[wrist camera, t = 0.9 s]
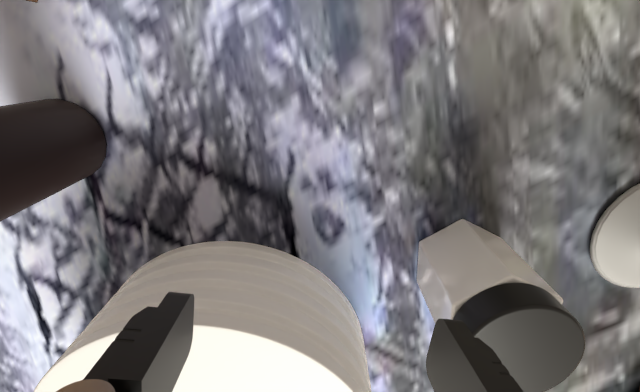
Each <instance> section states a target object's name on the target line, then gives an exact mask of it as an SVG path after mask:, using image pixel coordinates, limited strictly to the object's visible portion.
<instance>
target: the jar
mask: <svg viewBox="0 0 640 392" xmlns="http://www.w3.org/2000/svg"><path fill="white" fill-rule="evenodd" d="M417 283H418V285H419V288H420V290H421V292H422V294H423V297H424V299H425V301H426V304H427V306H428V308H429V310H430V313H431V315H432V317H433V320H434V322H435V324H436V321H437V320H438V319H451V320H461V321H463V322H464V323H465V324H466V326H467V327H468V329H469V330H470V331H471V333H472V334H473V336H474V337H475V338H479V339H481V340H482V341H483V342H484V343H485V344H487V345H488V346H489V347H490V348H492V349H493V351H494V352H495V353H496V355H497V356H498V357H499V359H500V360H501V362H502V365H504V366H505V367H506V368H507V370H508V371H509V372H510V376H512V377H513V378H514V379H515V381H516V382H517V383H518V385H519V386H520V387H521V389H522V390H523V391H524V392H545V391H547V390H549V389H551V388H553V387H555V386H556V385H558V384H559V383H561V382H562V381H563V380H565V379H566V378H567V377H568V376H569V375H570V374H571V373H572V372H573V371H574V370H575V369H576V367H577V366H578V364H579V363H580V361H581V359H582V356H583V353H584V349H585V336H584V332H583V329H582V327H581V325H580V324H579V322H578V321H577V320H576V319H575V318H574V317H573V316H572V315H571V314H570V313H569V311H568V310H567V309H566V308H565V307H564V306H563V305H562V304H563V299H562V298H561V297H560V296H559V295H558V294H557V293H556V292H555V291H554V290H553V289H552V288H551V287H550V286H549V285H548V284H547V283H546V282H545V281H544V280H543V279H542V278H541V277H540V276H539V275H538V274H537V273H536V272H535V271H534V270H533V269H532V268H531V267H530V266H529V265H528V264H527V263H526V262H525V261H524V260H523V259H522V258H521V257H520V256H519V255H518V254H517V253H516V252H515V251H514V250H513V249H512V248H511V247H510V246H509V245H508V244H507V243H506V242H505V241H504V240H503V239H502V238H500V237H498V236H496V235H494V234H492V233H490V232H488V231H486V230H484V229H482V228H480V227H479V226H477V225H475V224H473V223H471V222H469V221H467V220H465V219H460V220H459V221H457V222H455V223H453V224H451V225H449V226H447V227H446V228H444V229H442V230H440V231H438V232H436V233H434V234H432V235H431V236H429V237H427V238H425V239H423V240H421V241H420V242H419V250H418V266H417Z"/></svg>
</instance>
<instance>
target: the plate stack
mask: <svg viewBox="0 0 640 392" xmlns="http://www.w3.org/2000/svg"><path fill="white" fill-rule="evenodd" d="M168 292H177V293H187V294H193V295H194V320H193V338H192V344H191V349H190V352H189V355H188V358H187V360H186V362H185V364H184V367H183V369H182V371H181V373H180V375H179V378H178V380H177V382H176V384H175V387H174V389H173V391H172V392H371V385H370V378H369V373H368V366H367V359H366V353H365V347H364V340H363V334H362V329H361V326H360V323H359V320H358V317H357V315H356V313H355V311H354V309H353V307H352V305H351V304H350V302H349V301H348V299H347V298H346V296H345V295H344V294H343V292H342V291H341V290H340V289H339V288H338V287H337V286H336V285H335V284H334V283H333V282H332V281H331V280H330V279H329V278H328V277H327V276H325V275H324V274H323V273H322V272H320V271H319V270H318V269H316V268H315V267H313V266H311V265H310V264H308V263H307V262H305V261H303V260H301V259H299V258H297V257H295V256H293V255H291V254H288V253H286V252H283V251H280V250H277V249H274V248H271V247H267V246H263V245H259V244H253V243H247V242H237V241H212V242H202V243H196V244H191V245H187V246H183V247H179V248H176V249H173V250H171V251H168V252H166V253H164V254H161V255H159V256H157V257H155V258H154V259H152V260H150V261H149V262H147V263H146V264H144V265H143V266H142V267H140V268H139V269H138V270H137V271H135V272H134V273H133V274H132V275H131V276H130V277H129V278H128V279H127V280H126V282H125V283H124V284H123V285H122V286H121V288H120V289H119V290H118V291H117V292H116V293H115V294H114V296H113V297H112V298H111V299H110V300H109V301H108V302H107V304H106V305H105V306H104V307H103V309H102V310H101V311H100V312H99V313H98V314H97V315H96V316H95V317H94V319H93V320H92V321H91V322H90V323H89V325H88V326H87V327H86V328H85V330H84V331H83V332H82V333H81V334H80V335H79V336H78V337H77V338H76V339H75V341H74V342H73V343H72V344H71V345H70V346H69V348H68V349H67V350H66V351H65V353H64V354H63V355H62V356H61V357H60V358H59V359H58V360H57V361H56V362H55V364H54V365H53V366H52V367H51V368H50V369H49V371H48V372H47V373H46V374H45V375H44V377H43V378H42V379H41V380H40V382H39V383H38V385H37V387H36V388H35V390H34V392H56V391H58V390H59V389H61V388H63V387H65V386H67V385H69V384H71V383H74V382H77V381H81V380H83V379H84V378H85V377H86V375H87V374H88V373H89V371H90V370H91V369H92V368H93V366H94V365H95V364H96V362H97V361H98V360H99V359H100V357H101V356H102V355H103V353H104V352H105V351H106V350H107V348H108V347H109V346H110V344H111V343H112V342H113V341H115V338H116V337H117V335H118V334H119V333H120V332H121V331H123V328H124V327H125V325H126V324H127V323H128V321H129V320H130V319H131V318H132V316H134V315H135V314H137V313H138V312H140V311H141V310H143V309H144V308H146V307H158V306H159V304H160V303H161V301H162V300H163V299H164V297H165V296H166V294H167V293H168Z"/></svg>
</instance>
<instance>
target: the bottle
mask: <svg viewBox="0 0 640 392" xmlns="http://www.w3.org/2000/svg"><path fill="white" fill-rule="evenodd" d="M106 145H107V144H106V141H105V137H104V133H103V131H102V129H101V128H100V126H99V124H98V122H97V121H96V120H95V119H94V118H93V117H92V116H91V115H90V114H89V113H88V112H87V111H86V110H85V109H83V108H81V107H79V106H78V105H76V104H74V103H71V102H68V101H64V100H60V99H47V100H39V101H33V102H26V103H19V104H13V105H6V106H0V221H2V220H4V219H6V218H8V217H10V216H12V215H14V214H16V213H18V212H20V211H22V210H23V209H25V208H27V207H29V206H31V205H33V204H35V203H37V202H39V201H41V200H43V199H45V198H47V197H49V196H51V195H53V194H55V193H57V192H59V191H61V190H62V189H64V188H66V187H68V186H70V185H72V184H74V183H76V182H78V181H80V180H82V179H84V178H86V177H88V176H90V175H92V174H93V173H94V172H95V171H96V170H98V169H99V168H100V167H101V165H102V163H103V161H104V159H105V157H106Z"/></svg>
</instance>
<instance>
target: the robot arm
mask: <svg viewBox="0 0 640 392" xmlns="http://www.w3.org/2000/svg"><path fill="white" fill-rule="evenodd" d="M193 320H194V295H193V294H187V293H177V292H168V293H167V294H166V296H165V297H164V299H163V300H162V301H161V303H160V304H159V306H158V307H146V308H144V309H143V310H141V311H140V312H138V313H137V314H135V315H134V316H132V318H131V319H130V320H129V321H128V323H127V324H126V325H125V327H124V328H123V331H121V332H120V333H119V334H118V335H117V337H116V338H115V341H113V342H112V343H111V344H110V346H109V347H108V348H107V350H106V351H105V352H104V353H103V355H102V356H101V357H100V359H99V360H98V361H97V362H96V364H95V365H94V366H93V368H92V369H91V370H90V371H89V373H88V374H87V375H86V377H85V378H84V379H83V380H81V381H77V382H74V383H71V384H69V385H67V386H65V387H63V388H61V389H59V390H58V391H56V392H172V391H173V389H174V387H175V384H176V382H177V380H178V378H179V375H180V373H181V371H182V369H183V367H184V364H185V362H186V360H187V358H188V355H189V352H190V349H191V344H192V338H193ZM426 369H427V374H428V378H429V380H430V382H431V385H432V387H433V389H434V391H435V392H524V391H523V390H522V389H521V387H520V386H519V385H518V383H517V382H516V381H515V379H514V378H513V377H512V376H510V372H509V371H508V370H507V368H506V367H505V366H504V365H502V362H501V360H500V359H499V357H498V356H497V355H496V353H495V352H494V351H493V349H492V348H490V347H489V346H488V345H487V344H485V343H484V342H483V341H482V340H481V339H479V338H475V337H474V336H473V334H472V333H471V331H470V330H469V329H468V327H467V326H466V324H465V323H464V322H463V321H461V320H451V319H438V320H437V321H436V324H435V327H434V331H433V335H432V339H431V342H430V346H429V350H428V354H427V359H426Z"/></svg>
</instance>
